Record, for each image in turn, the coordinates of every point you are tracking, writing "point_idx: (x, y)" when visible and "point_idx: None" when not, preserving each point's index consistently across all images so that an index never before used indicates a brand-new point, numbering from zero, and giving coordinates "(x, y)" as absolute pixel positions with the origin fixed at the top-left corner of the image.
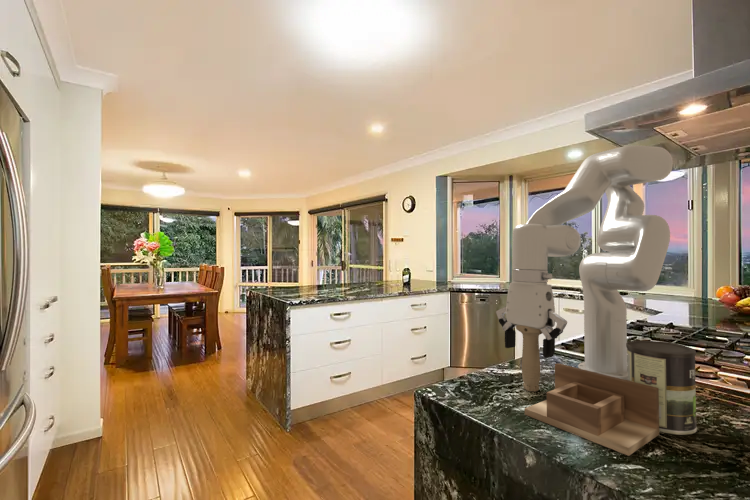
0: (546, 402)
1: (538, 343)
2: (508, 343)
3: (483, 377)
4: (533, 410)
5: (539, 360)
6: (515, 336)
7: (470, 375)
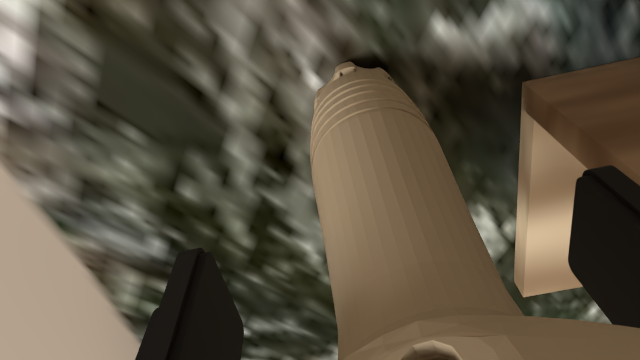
0: (546, 204)
1: (491, 260)
2: (236, 351)
3: (106, 191)
4: (553, 285)
5: (447, 163)
6: (188, 327)
7: (64, 228)
